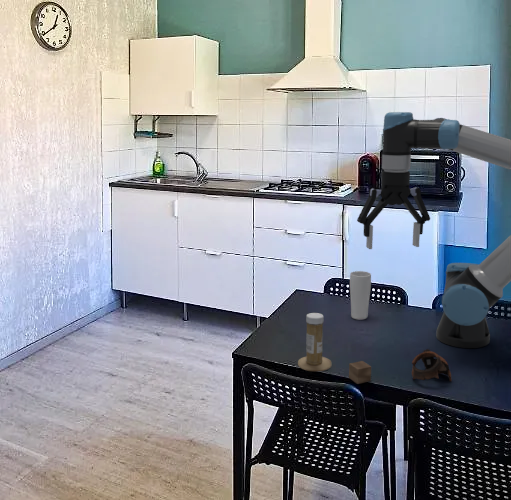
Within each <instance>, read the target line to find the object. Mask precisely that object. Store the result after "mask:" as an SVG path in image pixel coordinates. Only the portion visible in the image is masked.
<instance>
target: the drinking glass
mask: <svg viewBox="0 0 511 500" xmlns="http://www.w3.org/2000/svg"><path fill="white" fill-rule="evenodd" d="M349 273H350V275H349V292H350V295H349V296H350V297H349V298H350V312H351V313H350V317H351V318H352V319H354V320H357V321H358V320H360V321H361V320H366V319H367V318H368V315H369V314H368V313H369V305H370V304H369V303H370V296H371V287H372V273H371V272H368V271H363V270H359V271H358V270H356V271H351V272H349Z"/></svg>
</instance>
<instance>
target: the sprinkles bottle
mask: <svg viewBox="0 0 511 500" xmlns="http://www.w3.org/2000/svg"><path fill="white" fill-rule="evenodd" d="M324 320H325V319H324V315H323V314H322V313H318V312H311V313H307V314H306V319H305V321H306V336H305V337H306V339H305V341H306V344H305V346H306V349H305V351H306V356H305V357H306V362H307V363H308V364H311V365H319V364H321V363H322V357H323V338H324V337H323V336H324V335H323V331H324V330H323V326H324V322H325V321H324Z"/></svg>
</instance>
